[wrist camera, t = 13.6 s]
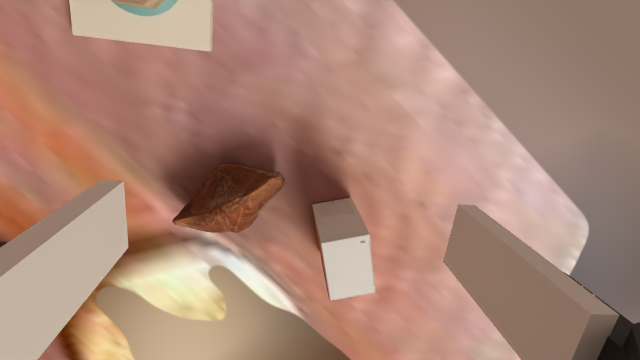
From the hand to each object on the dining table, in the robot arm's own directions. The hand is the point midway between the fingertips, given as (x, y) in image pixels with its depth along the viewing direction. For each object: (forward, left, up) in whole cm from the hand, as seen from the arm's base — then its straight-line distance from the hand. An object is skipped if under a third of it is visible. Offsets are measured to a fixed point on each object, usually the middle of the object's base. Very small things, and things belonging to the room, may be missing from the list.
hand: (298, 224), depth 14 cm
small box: (+8, -15, -31) cm, 35 cm away
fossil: (-6, -11, -31) cm, 33 cm away
